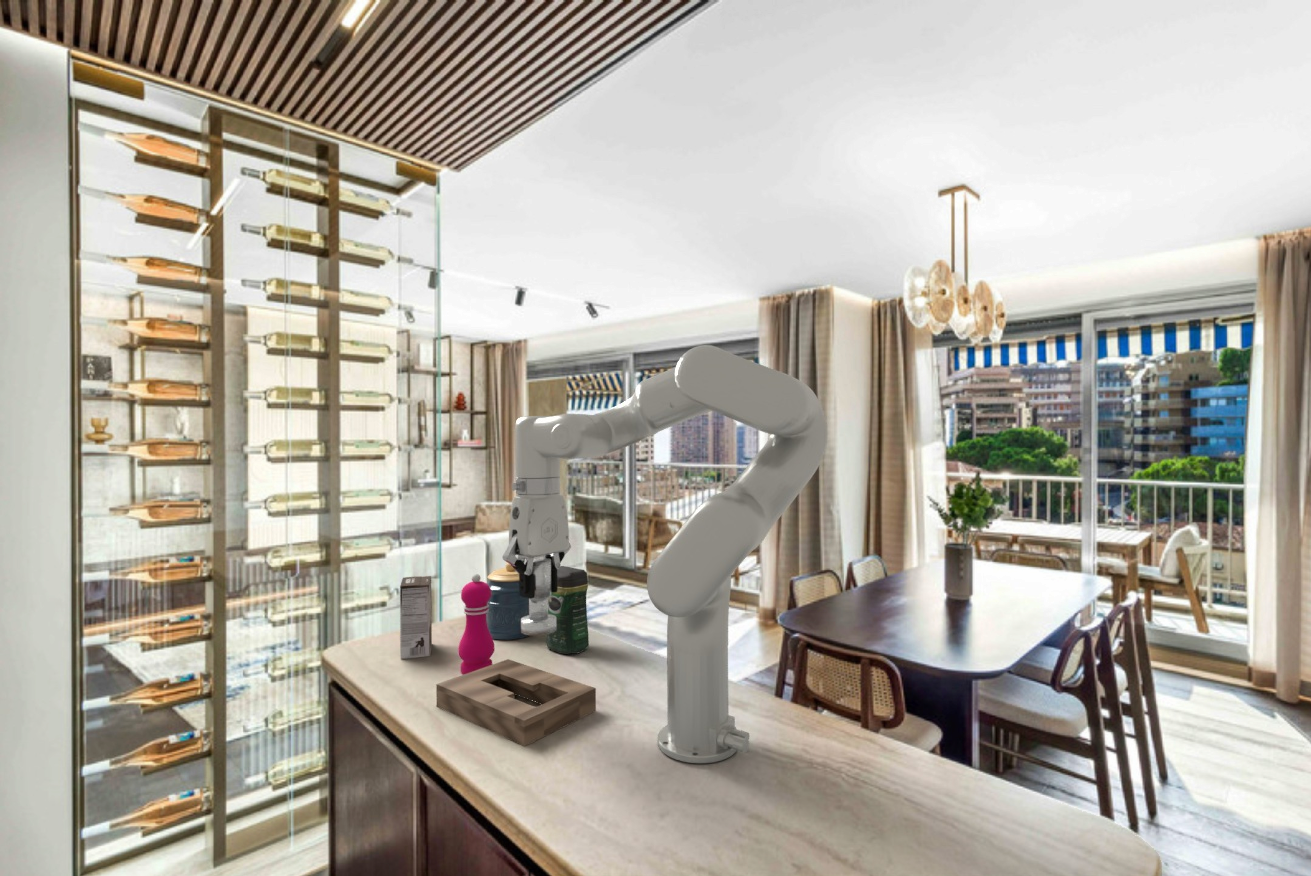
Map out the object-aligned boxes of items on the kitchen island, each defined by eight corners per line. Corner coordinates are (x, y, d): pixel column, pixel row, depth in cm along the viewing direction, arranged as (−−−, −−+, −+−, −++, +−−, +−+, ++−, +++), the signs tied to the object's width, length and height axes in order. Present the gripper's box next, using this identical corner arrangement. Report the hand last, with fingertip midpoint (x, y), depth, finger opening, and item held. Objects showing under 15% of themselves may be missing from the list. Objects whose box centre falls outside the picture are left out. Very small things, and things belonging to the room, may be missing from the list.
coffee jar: (594, 648, 143) (594, 567, 143) (567, 657, 137) (567, 572, 137) (567, 639, 149) (566, 561, 149) (540, 648, 143) (540, 567, 143)
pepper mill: (499, 664, 133) (499, 570, 133) (487, 677, 126) (486, 578, 126) (466, 663, 133) (466, 570, 134) (452, 676, 126) (451, 577, 126)
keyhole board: (595, 710, 110) (595, 687, 110) (524, 746, 97) (524, 720, 97) (508, 679, 125) (508, 659, 125) (436, 706, 112) (436, 683, 112)
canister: (545, 634, 153) (545, 562, 153) (493, 644, 146) (493, 568, 146) (527, 621, 164) (526, 554, 164) (477, 630, 157) (477, 559, 157)
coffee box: (402, 646, 145) (402, 576, 145) (432, 643, 147) (432, 574, 147) (399, 659, 136) (398, 585, 136) (430, 656, 138) (430, 583, 138)
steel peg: (563, 629, 108) (563, 559, 108) (536, 637, 103) (536, 565, 104) (540, 622, 112) (540, 555, 112) (513, 630, 107) (513, 560, 107)
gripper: (512, 492, 99) (513, 608, 99) (588, 485, 112) (589, 588, 112) (483, 490, 104) (484, 600, 103) (559, 484, 117) (560, 582, 117)
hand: (538, 592), depth 108 cm, fingers closed on steel peg, 4 cm apart
